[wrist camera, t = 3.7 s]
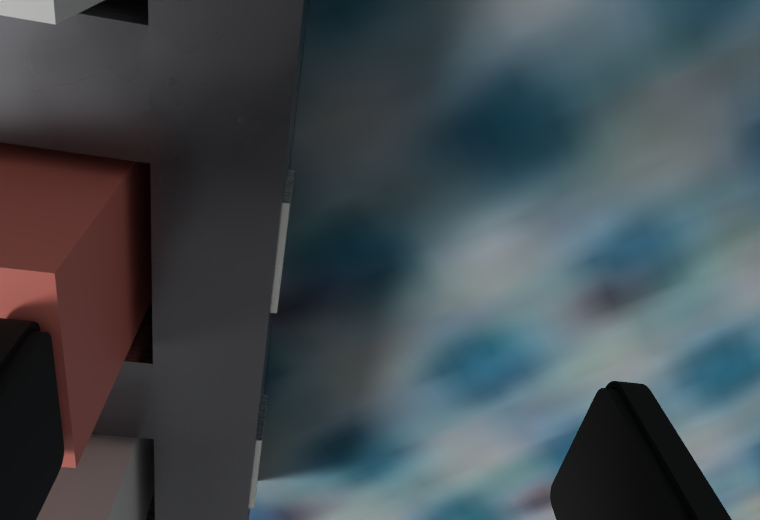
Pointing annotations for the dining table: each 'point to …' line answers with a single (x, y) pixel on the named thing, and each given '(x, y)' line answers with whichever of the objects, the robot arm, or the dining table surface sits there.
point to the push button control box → (181, 210)
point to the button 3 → (105, 482)
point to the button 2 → (76, 268)
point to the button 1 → (44, 9)
